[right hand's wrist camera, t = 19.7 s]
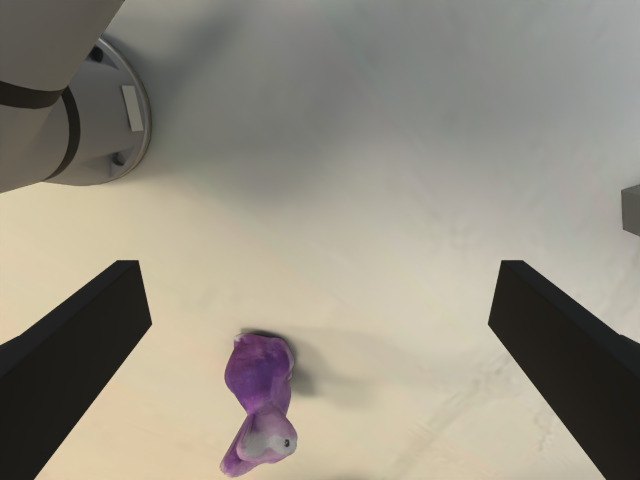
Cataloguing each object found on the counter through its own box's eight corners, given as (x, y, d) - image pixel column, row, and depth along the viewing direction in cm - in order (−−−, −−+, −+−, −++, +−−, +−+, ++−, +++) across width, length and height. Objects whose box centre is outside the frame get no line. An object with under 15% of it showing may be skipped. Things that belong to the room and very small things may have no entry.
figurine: (298, 391, 49) (289, 505, 35) (227, 378, 48) (189, 490, 34) (312, 338, 46) (309, 441, 32) (236, 323, 45) (199, 423, 31)
